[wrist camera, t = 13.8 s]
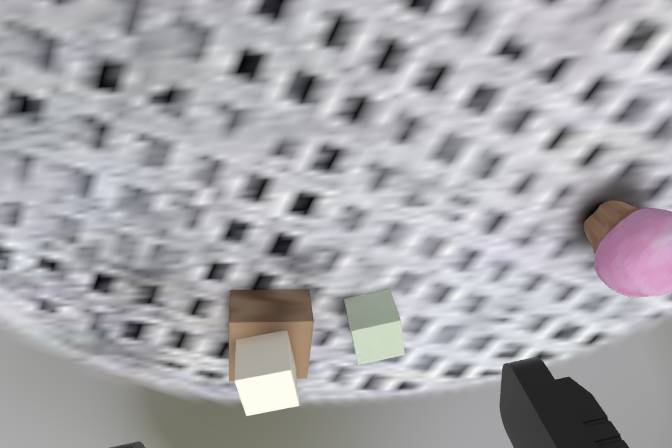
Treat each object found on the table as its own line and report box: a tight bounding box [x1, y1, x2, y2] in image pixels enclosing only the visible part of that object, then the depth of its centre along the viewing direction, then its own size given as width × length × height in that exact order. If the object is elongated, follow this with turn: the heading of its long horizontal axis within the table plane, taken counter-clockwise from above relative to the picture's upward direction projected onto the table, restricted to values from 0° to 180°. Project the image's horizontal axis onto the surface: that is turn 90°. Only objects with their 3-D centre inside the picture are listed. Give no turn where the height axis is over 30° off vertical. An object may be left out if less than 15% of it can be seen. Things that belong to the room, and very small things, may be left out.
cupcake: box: [584, 200, 672, 297], centre depth 49 cm, size 9×9×10 cm
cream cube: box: [235, 330, 299, 416], centre depth 48 cm, size 5×5×5 cm
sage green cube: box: [344, 289, 405, 365], centre depth 54 cm, size 5×5×5 cm
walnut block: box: [229, 290, 314, 381], centre depth 52 cm, size 8×8×5 cm
